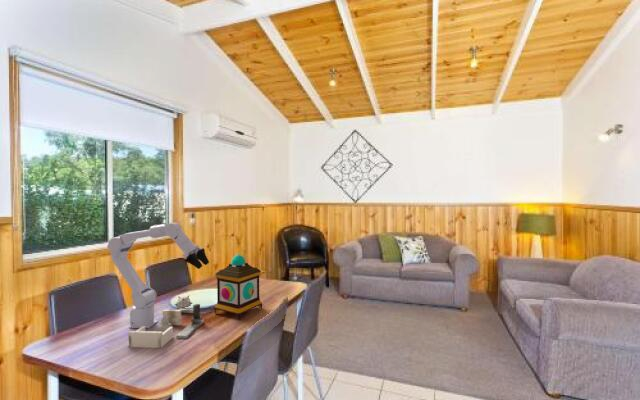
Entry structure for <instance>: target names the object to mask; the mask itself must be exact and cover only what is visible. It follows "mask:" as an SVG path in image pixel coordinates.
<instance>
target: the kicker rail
mask: <svg viewBox="0 0 640 400" xmlns="http://www.w3.org/2000/svg"><path fill="white" fill-rule="evenodd" d="M204 322H205V321H204V319H202V321H201V322H200V323H199V322H191V321H190V323H189V324H188V325H186V327H184V328H183V329H182V330H181V331H180V332H179V333H178V334H176V339H188V338H189V337H190V336H191V335H192V334H193V333H194V332H195V331H196V330H197V329H199V327H200V326H202V324H203V323H204Z"/></svg>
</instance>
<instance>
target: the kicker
mask: <svg viewBox="0 0 640 400" xmlns="http://www.w3.org/2000/svg"><path fill="white" fill-rule="evenodd" d="M182 313H184V314H186V313H191V314H193V315H192V318H191V319H190V323H191V322H199V323H200V322H201V321H202V320H203V316H201V304H200V303H196V304H193V305H192V308H189V309H180V310H178V309H164V310H162V318H163V317H165V315H166V316H167V317H168V318H169V323H171V326H181V325H182Z"/></svg>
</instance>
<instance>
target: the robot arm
mask: <svg viewBox="0 0 640 400" xmlns="http://www.w3.org/2000/svg"><path fill="white" fill-rule="evenodd" d="M148 237H150V238H152V239H158V238H164V237H169V238H171V240H173V242H174V243H175V245H177V246H178V247H179V249H180V250H181V251H182V252H183V254H181V255H182V257H183V258H184V260H183V261H184V262H185V263H189V265H192V266H193V267H195V268H196V269H198V270H200V269H201V268H202V267H203V265H205V266H207V265H208V264H209V263H210V260H209V259H208V257H207V254H206V252H205V251H206V250H205V248H201V246H200V245H199V244H197V245H195V244H194V242H193V241H192V239H190V238H189V236H188V235H187V234H186V233H185V232H184V231H183V230H182V226H181V223H178V222H169V223H168V222H164V223H163V224H157V223H156V224H153V225H152V226H150V227H149V229H145V230H139V231H132V232H128V233H127V232H126V233H123V234H120V235H118V236H115V237H112V238H111V237H110V240H108V243H107V248H108V250H109V252H110V257H111V260H112V262H113V263H114V265H115V267H116V269H117V270H118V271H119V273H120V274H121V276H122V277H123V279H124V280H125V282H126V283H127V286H128V287H129V288H130V289H131V293H130V297H131V300H132V304H133V306H132V308H131V309H130V313H129V321H130V322H129V326H128V328H129V329H134V328H135V329H139V328H141V327H142V326H145V329H149V328H151V327H152V326H154V325H155V324H156V323H158V322H159V319H157V320H156V319H155V301H156V300H157V297H158V295H157V292H156V290H155V289H153V288H151V286H150V285H149V284H146V283H144V281H143V280H142V278H141V276H140V275H139V274H138V272H137V271H136V269H135V268H134V266H133V265H132V263H131V262H130V260H129V258H128V257H127V255H128V253H129V252H130V250H131V249H132V247H133V245H134V243H135V242H137V240H138V239H142V238H148Z"/></svg>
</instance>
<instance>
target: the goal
mask: <svg viewBox="0 0 640 400" xmlns="http://www.w3.org/2000/svg"><path fill="white" fill-rule="evenodd" d="M127 336H128V348H149V349H151V348H157V349H158V348H159V349H161V348H162V347H164V346H165V345H166V344H167V343H168V342H169V341H171V340H172V338H174V327H173V326H171V327H169V328H168V329H167V330H166V331H164V332H160V331H158V330H157V331H153V330H151V331H149V330H148V331H147V330H146V328H145V326H142V327H141V328H137V329H136V330H129V331H128V335H127Z"/></svg>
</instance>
